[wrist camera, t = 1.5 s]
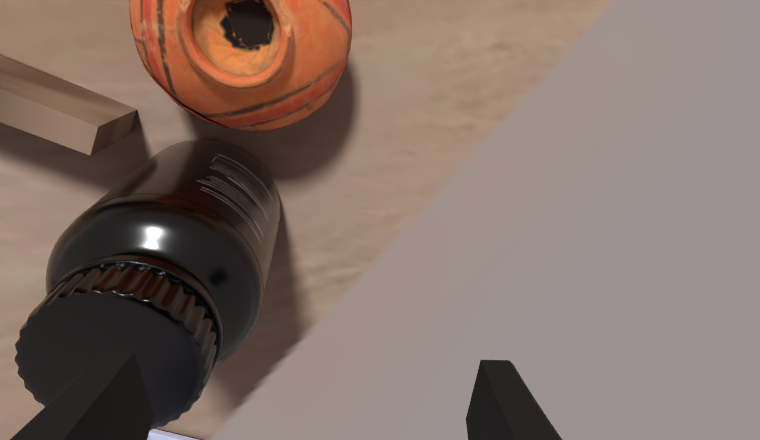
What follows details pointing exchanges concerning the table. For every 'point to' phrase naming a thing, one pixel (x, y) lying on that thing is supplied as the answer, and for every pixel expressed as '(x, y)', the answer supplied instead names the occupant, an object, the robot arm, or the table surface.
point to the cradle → (60, 109)
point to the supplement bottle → (158, 276)
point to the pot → (244, 56)
